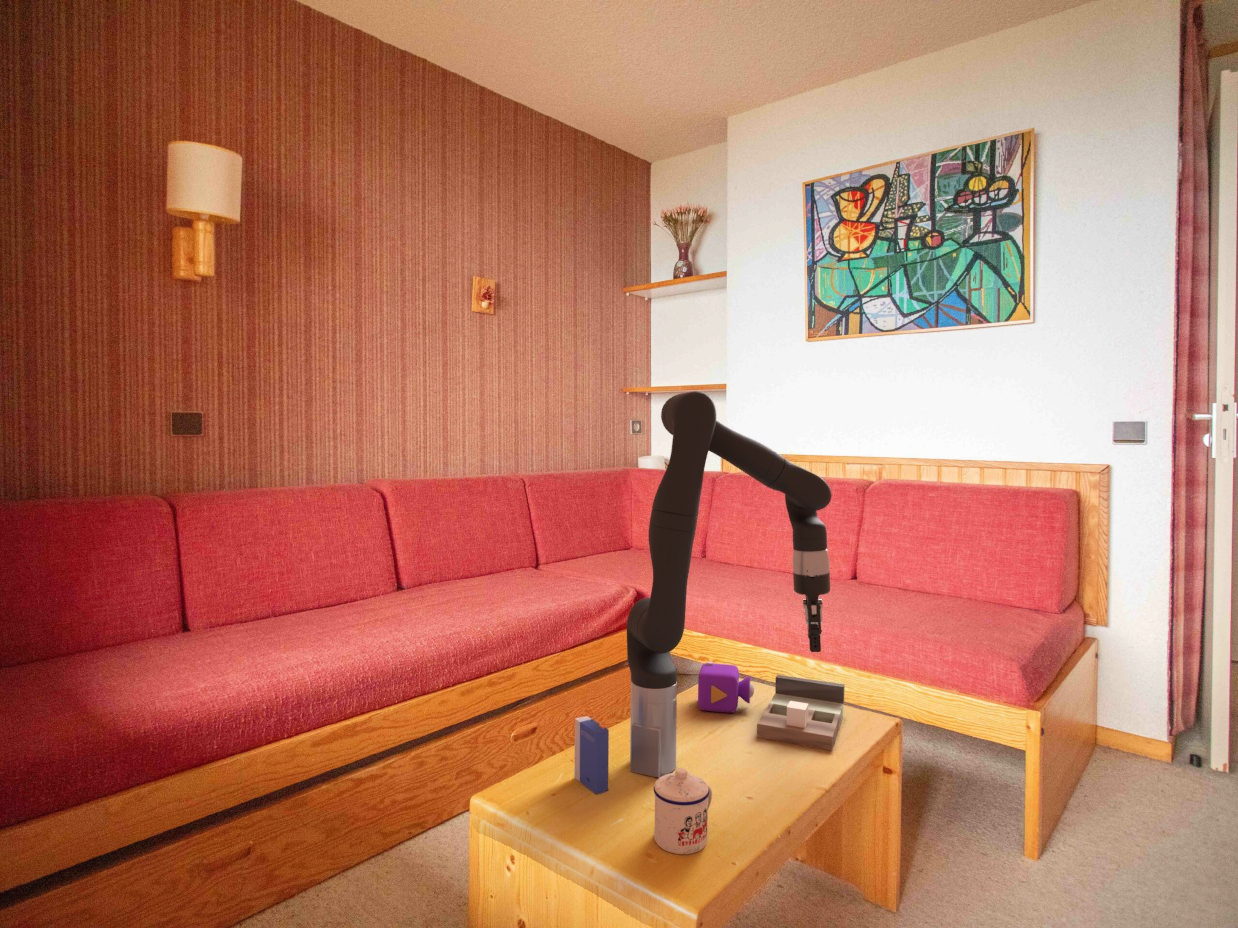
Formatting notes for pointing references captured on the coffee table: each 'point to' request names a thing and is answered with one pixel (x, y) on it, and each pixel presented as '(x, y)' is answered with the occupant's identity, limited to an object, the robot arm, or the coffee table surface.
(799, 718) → the block
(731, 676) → the toy camera
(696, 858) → the coffee table surface
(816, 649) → the robot arm
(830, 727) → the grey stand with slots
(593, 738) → the walkman
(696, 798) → the teacup with lid
